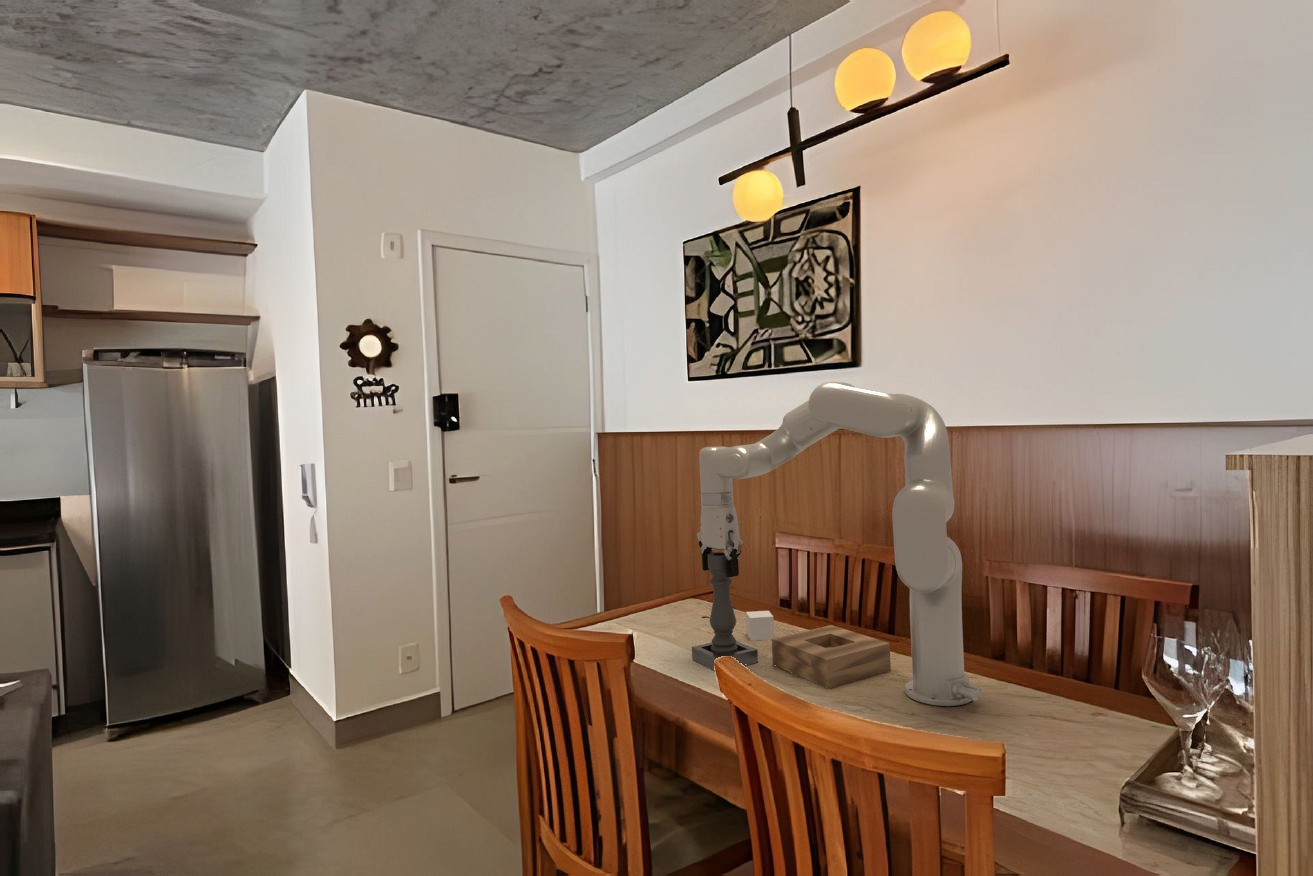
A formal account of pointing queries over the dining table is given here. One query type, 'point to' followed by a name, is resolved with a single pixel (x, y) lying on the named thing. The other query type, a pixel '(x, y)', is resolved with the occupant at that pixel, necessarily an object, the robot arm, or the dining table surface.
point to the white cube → (760, 625)
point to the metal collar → (707, 657)
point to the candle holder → (721, 607)
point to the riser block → (831, 655)
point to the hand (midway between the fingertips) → (720, 573)
